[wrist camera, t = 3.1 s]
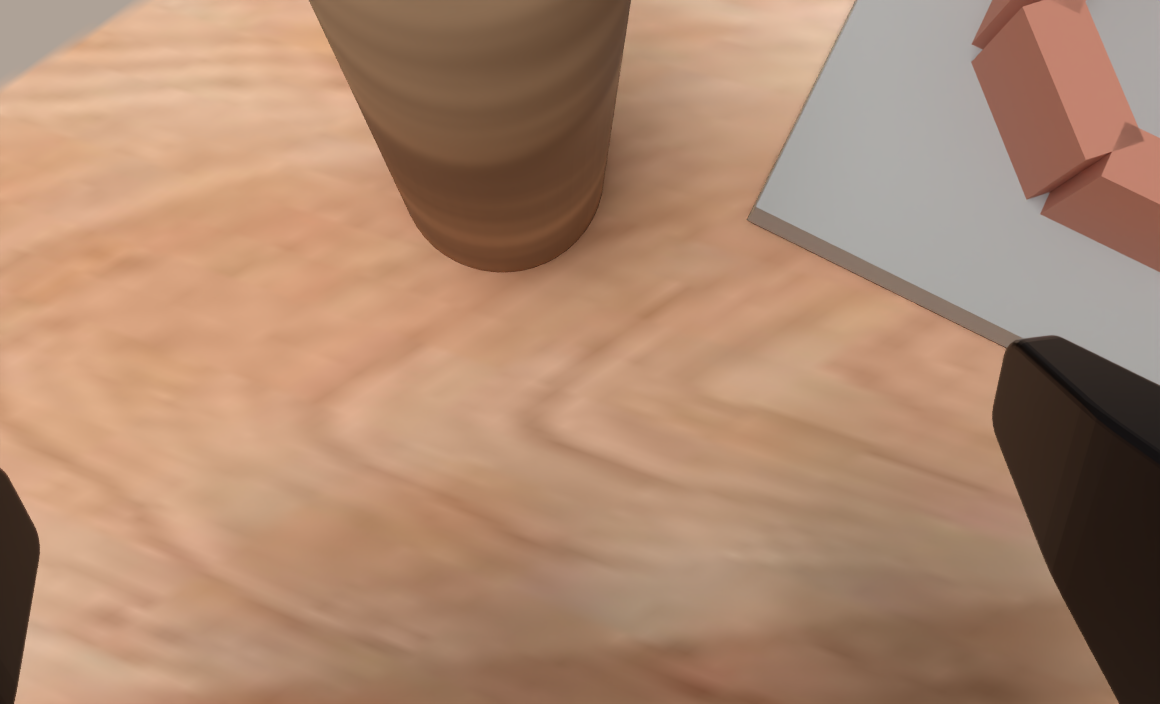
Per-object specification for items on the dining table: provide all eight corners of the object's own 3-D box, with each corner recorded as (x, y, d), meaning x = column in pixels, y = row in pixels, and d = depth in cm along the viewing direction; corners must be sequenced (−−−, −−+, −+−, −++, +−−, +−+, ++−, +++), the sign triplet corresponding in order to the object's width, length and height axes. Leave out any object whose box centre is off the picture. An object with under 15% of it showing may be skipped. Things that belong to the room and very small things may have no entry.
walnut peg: (546, 307, 23) (536, -25, 9) (365, 215, 23) (77, -248, 9) (637, 132, 23) (761, -432, 9) (460, 45, 23) (328, -630, 10)
